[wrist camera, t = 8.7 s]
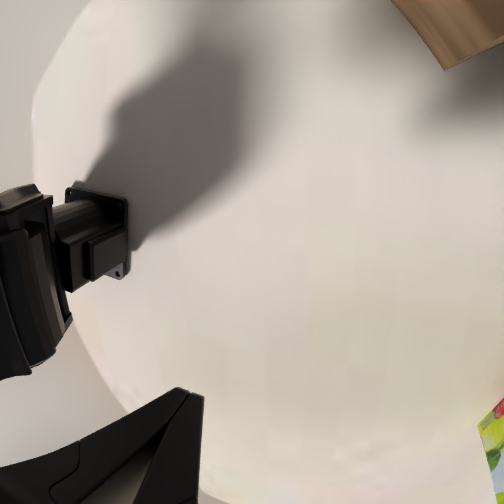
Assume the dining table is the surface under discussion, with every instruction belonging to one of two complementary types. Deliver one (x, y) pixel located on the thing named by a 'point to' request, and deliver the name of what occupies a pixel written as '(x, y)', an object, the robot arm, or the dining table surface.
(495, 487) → the snack box
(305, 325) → the dining table surface
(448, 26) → the walnut block
